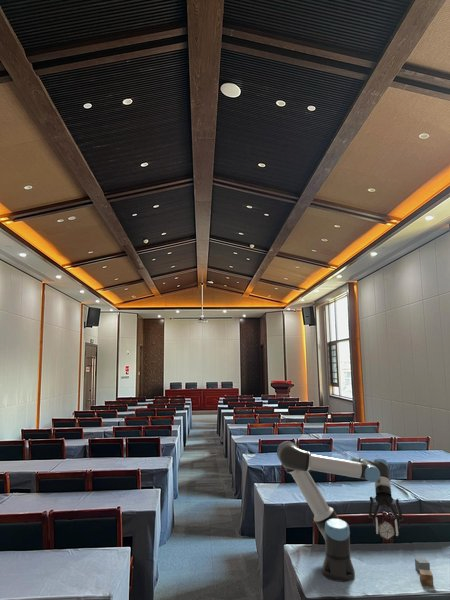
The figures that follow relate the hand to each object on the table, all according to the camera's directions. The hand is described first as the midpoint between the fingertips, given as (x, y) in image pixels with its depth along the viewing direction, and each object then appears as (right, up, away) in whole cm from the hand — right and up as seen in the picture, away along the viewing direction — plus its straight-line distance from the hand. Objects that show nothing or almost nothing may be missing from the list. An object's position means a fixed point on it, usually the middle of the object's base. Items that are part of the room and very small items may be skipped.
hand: (387, 533), depth 207 cm
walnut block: (+17, -22, -3) cm, 28 cm away
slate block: (+21, -24, +9) cm, 33 cm away
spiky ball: (+1, -4, +3) cm, 5 cm away
